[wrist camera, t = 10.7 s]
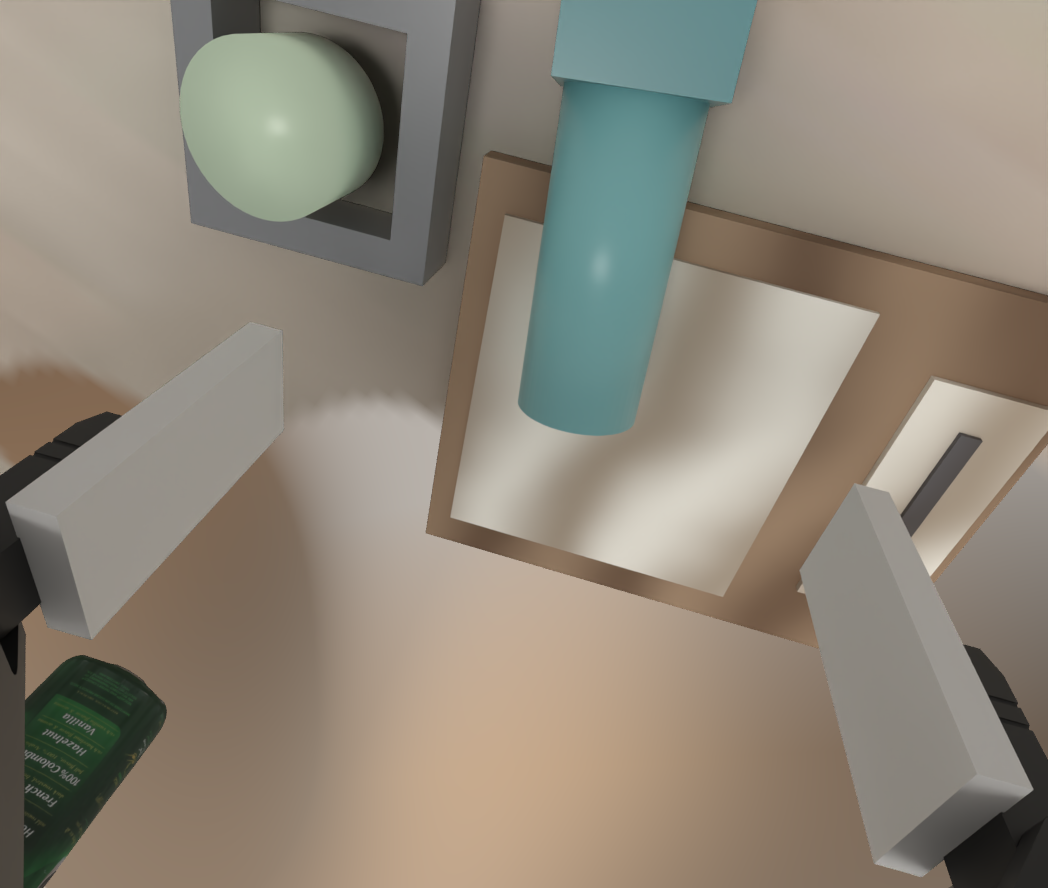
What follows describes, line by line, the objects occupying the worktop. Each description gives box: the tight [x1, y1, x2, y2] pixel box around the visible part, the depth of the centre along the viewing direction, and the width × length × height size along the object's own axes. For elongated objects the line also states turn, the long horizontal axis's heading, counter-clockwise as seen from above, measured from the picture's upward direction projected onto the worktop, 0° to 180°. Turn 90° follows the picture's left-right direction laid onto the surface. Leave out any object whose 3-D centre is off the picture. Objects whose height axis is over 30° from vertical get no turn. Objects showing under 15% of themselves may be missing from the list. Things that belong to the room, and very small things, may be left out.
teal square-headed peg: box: [518, 0, 757, 436], centre depth 18 cm, size 4×4×11 cm
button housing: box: [170, 0, 481, 286], centre depth 20 cm, size 8×8×2 cm
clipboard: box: [426, 151, 1048, 648], centre depth 24 cm, size 20×16×2 cm
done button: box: [180, 32, 384, 222], centre depth 18 cm, size 4×4×3 cm
